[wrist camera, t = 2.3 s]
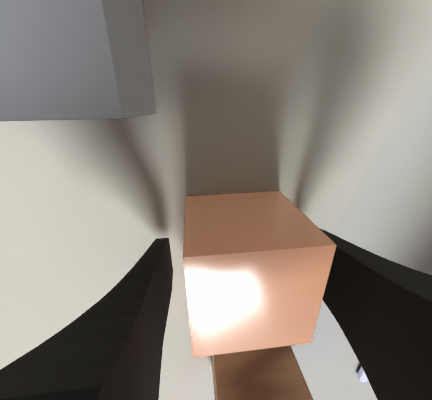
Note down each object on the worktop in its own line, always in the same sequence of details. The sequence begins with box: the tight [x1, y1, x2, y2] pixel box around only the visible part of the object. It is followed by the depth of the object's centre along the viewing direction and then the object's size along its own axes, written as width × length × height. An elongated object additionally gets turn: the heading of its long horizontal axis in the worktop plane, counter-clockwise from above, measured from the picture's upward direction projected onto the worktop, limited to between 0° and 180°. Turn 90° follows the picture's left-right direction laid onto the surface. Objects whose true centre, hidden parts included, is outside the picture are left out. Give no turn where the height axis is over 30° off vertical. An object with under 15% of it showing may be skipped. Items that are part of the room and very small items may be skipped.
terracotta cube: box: [183, 191, 336, 358], centre depth 10 cm, size 5×5×5 cm
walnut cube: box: [212, 346, 313, 400], centre depth 14 cm, size 5×5×5 cm
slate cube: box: [0, 0, 156, 121], centre depth 6 cm, size 5×5×5 cm
